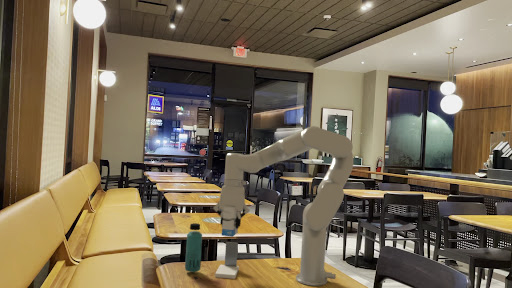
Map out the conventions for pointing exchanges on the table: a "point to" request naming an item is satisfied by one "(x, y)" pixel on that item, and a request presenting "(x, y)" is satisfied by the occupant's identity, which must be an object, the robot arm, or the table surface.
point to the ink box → (229, 221)
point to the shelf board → (227, 271)
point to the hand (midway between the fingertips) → (230, 226)
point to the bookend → (231, 254)
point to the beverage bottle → (193, 249)
